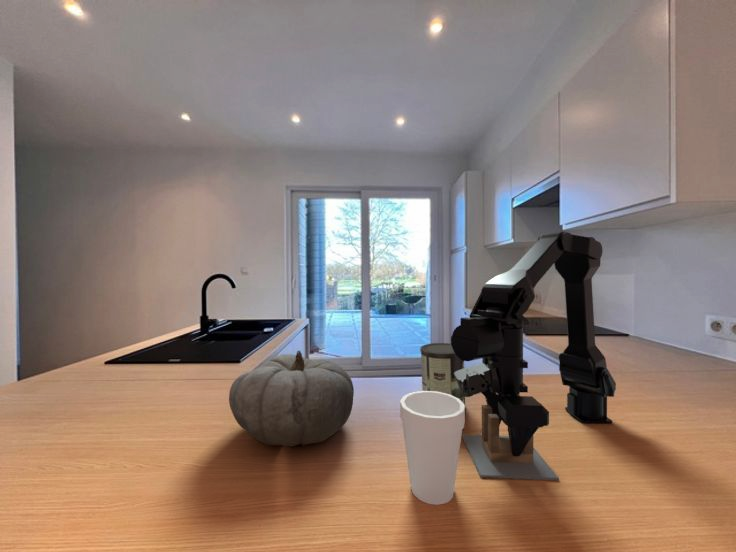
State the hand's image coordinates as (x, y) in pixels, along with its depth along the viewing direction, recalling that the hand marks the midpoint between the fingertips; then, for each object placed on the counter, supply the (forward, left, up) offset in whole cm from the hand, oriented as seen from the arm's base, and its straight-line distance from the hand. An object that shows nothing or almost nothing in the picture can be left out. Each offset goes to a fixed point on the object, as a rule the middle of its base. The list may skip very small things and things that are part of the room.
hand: (504, 440), depth 54 cm
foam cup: (+14, +9, -3) cm, 17 cm away
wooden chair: (0, 0, -2) cm, 2 cm away
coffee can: (+7, -20, -3) cm, 21 cm away
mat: (0, 0, -3) cm, 3 cm away
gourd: (+40, -7, -3) cm, 41 cm away
